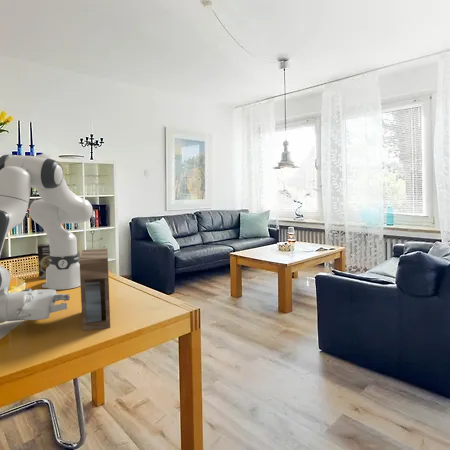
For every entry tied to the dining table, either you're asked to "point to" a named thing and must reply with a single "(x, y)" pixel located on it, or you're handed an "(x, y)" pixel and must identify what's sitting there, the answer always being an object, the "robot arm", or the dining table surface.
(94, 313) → the slate block
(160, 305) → the dining table surface
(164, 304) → the dining table surface
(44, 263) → the coffee box
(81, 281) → the walnut box
